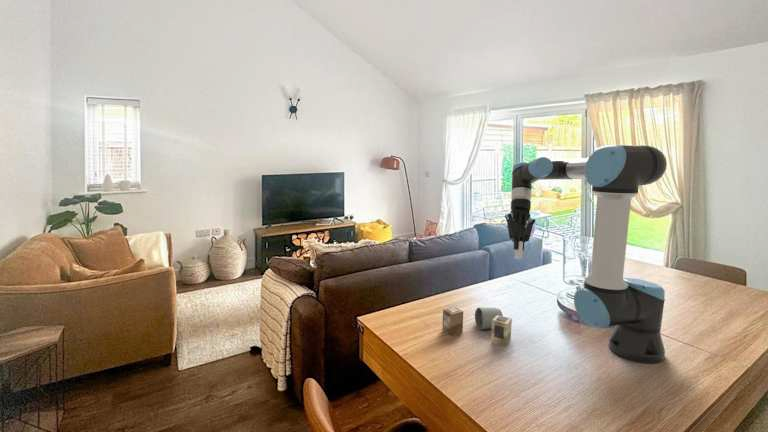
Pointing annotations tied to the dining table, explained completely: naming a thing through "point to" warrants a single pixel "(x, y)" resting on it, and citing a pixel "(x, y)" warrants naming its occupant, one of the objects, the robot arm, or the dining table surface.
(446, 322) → the walnut numeral block
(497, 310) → the ceramic mug
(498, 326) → the beige framed block
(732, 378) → the dining table surface
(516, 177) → the robot arm
